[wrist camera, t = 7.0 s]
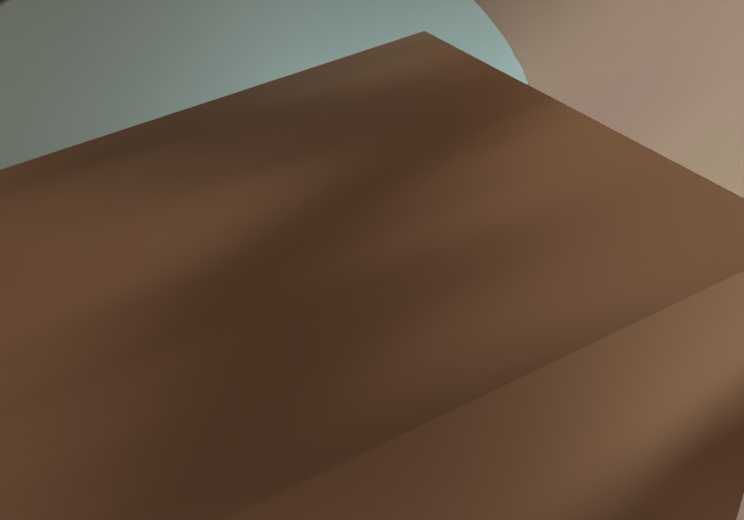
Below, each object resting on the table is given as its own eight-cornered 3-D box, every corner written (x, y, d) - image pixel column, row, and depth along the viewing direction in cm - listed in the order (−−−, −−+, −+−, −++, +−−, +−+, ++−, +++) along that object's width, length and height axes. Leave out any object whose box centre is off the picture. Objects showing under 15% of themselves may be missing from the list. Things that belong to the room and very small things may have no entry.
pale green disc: (521, -172, 9) (539, -172, 9) (537, 358, 15) (548, 369, 15) (-351, 56, 7) (-369, 68, 6) (83, 574, 13) (84, 593, 12)
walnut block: (424, 30, 9) (814, 235, 5) (461, 340, 13) (706, 627, 8) (-26, 177, 8) (-82, 665, 3) (155, 478, 12) (247, 912, 7)
